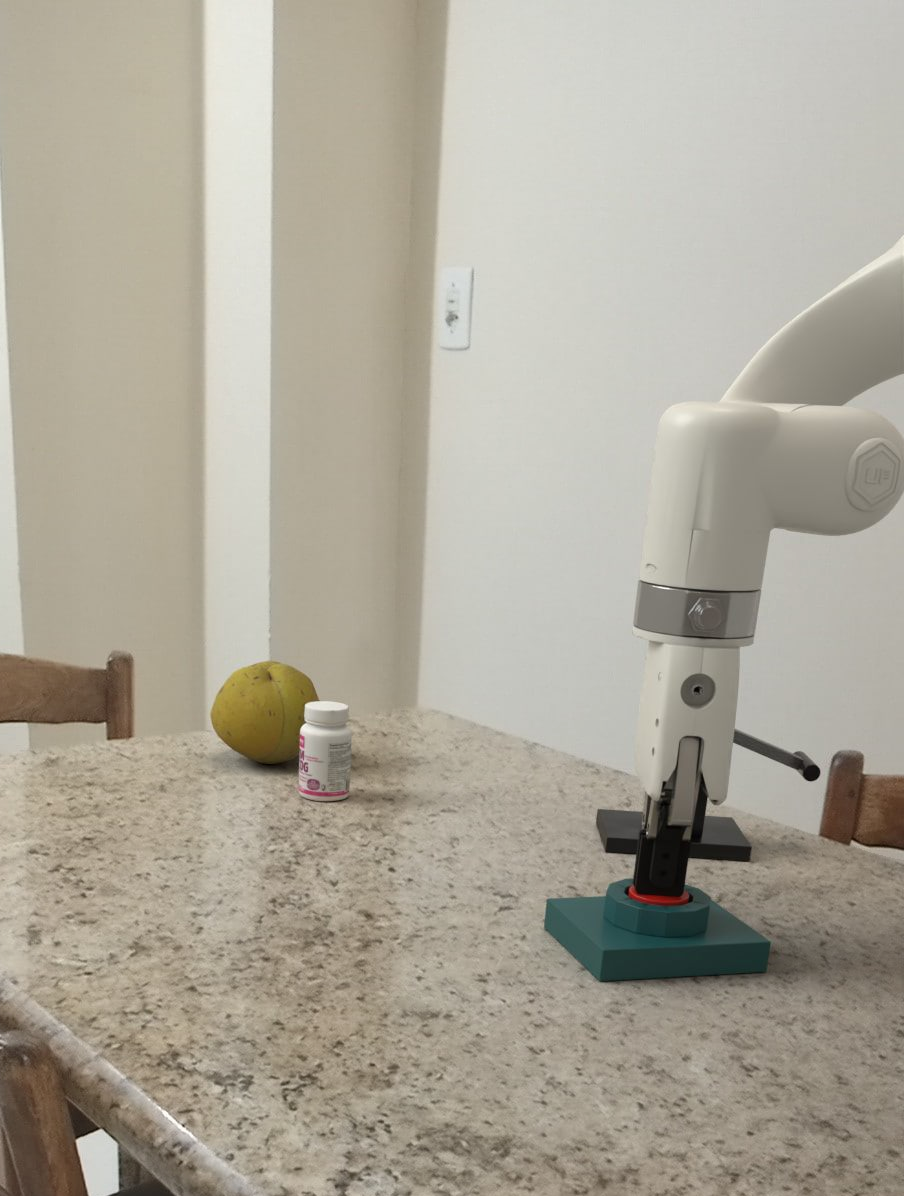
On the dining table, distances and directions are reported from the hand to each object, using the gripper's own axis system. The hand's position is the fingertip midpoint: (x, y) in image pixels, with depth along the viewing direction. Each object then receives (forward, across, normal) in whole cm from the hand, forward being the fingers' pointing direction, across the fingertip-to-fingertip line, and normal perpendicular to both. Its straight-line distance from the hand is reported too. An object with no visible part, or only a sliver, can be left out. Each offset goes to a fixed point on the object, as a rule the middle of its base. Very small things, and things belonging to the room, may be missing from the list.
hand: (657, 891), depth 93 cm
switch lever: (-4, +27, -10) cm, 29 cm away
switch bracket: (+4, +27, -5) cm, 28 cm away
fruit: (+4, +46, +33) cm, 57 cm away
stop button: (+2, 0, 0) cm, 2 cm away
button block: (+4, 0, 0) cm, 4 cm away
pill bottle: (+4, +35, +26) cm, 44 cm away
